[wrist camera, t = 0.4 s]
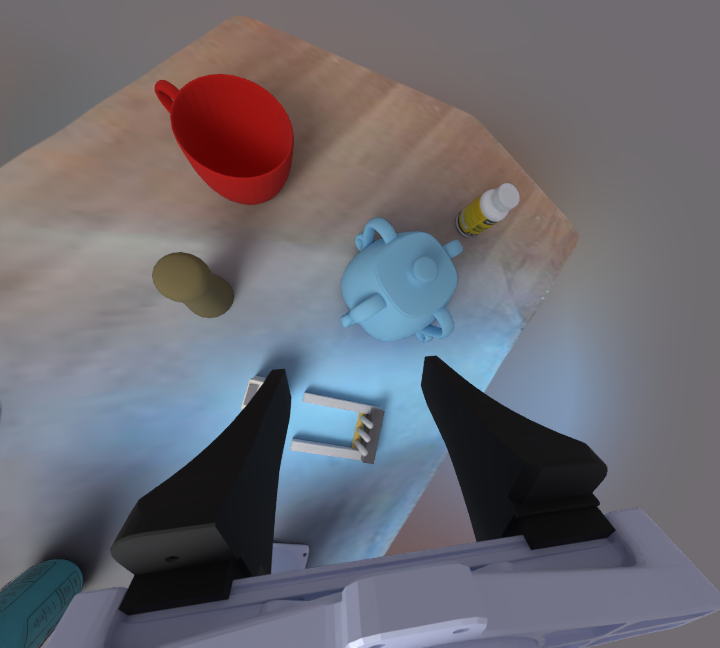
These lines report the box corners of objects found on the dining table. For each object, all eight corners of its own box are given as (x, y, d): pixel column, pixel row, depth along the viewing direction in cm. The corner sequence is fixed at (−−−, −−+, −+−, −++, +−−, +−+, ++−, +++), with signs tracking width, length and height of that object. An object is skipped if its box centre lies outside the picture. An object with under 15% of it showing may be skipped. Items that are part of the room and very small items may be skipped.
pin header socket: (368, 458, 39) (378, 471, 35) (290, 447, 36) (290, 459, 32) (379, 406, 40) (390, 413, 36) (304, 391, 38) (306, 396, 33)
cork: (233, 276, 37) (211, 245, 26) (233, 317, 36) (210, 303, 26) (185, 274, 35) (141, 241, 25) (184, 318, 35) (138, 302, 24)
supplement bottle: (460, 241, 48) (501, 213, 39) (451, 214, 48) (490, 180, 39) (482, 235, 50) (527, 208, 40) (473, 209, 50) (516, 175, 40)
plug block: (280, 406, 37) (279, 415, 31) (247, 400, 36) (240, 409, 30) (287, 382, 37) (287, 387, 32) (255, 375, 36) (249, 379, 31)
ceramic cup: (209, 108, 38) (182, 27, 29) (308, 177, 41) (313, 124, 32) (153, 170, 36) (103, 103, 26) (263, 239, 39) (255, 201, 29)
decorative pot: (416, 354, 43) (471, 355, 30) (325, 326, 40) (344, 313, 27) (436, 267, 46) (495, 233, 33) (353, 233, 43) (383, 180, 30)
